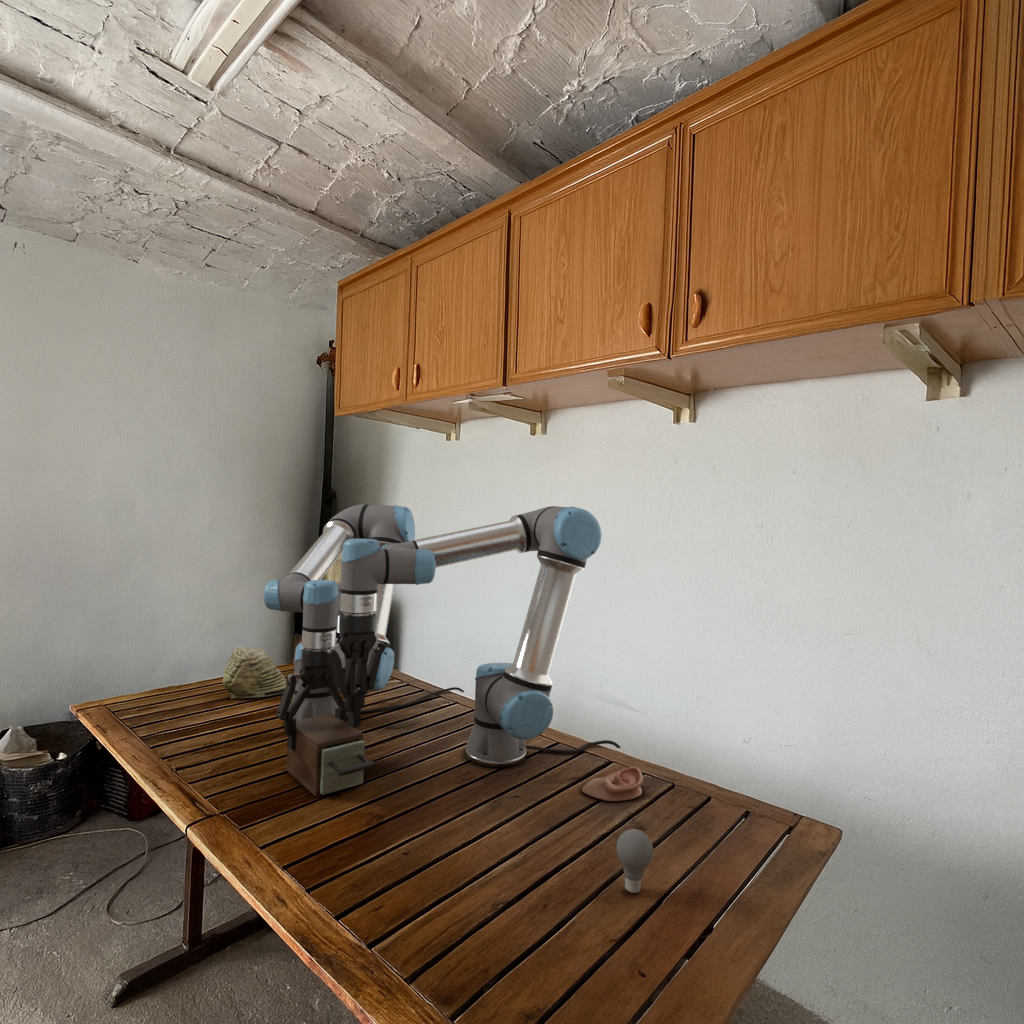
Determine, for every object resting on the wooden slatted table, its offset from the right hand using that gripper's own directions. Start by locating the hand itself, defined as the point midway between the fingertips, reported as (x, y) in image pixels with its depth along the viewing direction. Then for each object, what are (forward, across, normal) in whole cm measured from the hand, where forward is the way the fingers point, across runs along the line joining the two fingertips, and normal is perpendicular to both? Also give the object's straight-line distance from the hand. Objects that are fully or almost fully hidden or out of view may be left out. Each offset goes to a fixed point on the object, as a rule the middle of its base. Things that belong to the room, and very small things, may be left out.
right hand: (353, 724), depth 133 cm
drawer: (+15, 0, +8) cm, 17 cm away
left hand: (+10, 0, +18) cm, 21 cm away
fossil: (+16, +7, +80) cm, 82 cm away
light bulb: (+16, +23, -56) cm, 63 cm away
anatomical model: (+16, +49, -30) cm, 59 cm away
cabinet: (+16, 0, +14) cm, 21 cm away
